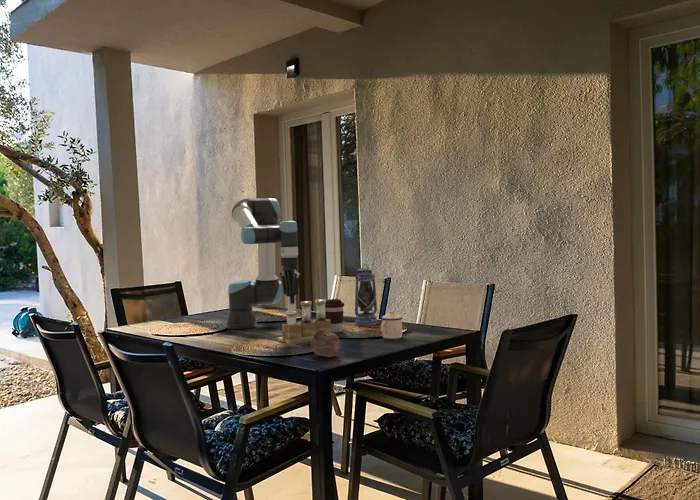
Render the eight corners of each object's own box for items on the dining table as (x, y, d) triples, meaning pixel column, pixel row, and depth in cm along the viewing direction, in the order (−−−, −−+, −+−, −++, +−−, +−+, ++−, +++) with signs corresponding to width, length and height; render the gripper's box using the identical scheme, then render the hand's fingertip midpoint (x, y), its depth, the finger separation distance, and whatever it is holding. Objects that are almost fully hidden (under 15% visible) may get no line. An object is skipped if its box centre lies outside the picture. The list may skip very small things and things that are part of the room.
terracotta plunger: (298, 324, 268) (298, 302, 267) (308, 323, 271) (307, 300, 270) (305, 326, 264) (304, 303, 263) (314, 324, 267) (313, 301, 266)
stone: (310, 356, 232) (309, 330, 232) (324, 352, 239) (323, 327, 238) (335, 360, 224) (334, 333, 224) (349, 355, 231) (348, 329, 231)
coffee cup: (342, 333, 279) (341, 301, 278) (321, 333, 281) (320, 301, 280) (347, 329, 289) (346, 298, 288) (326, 329, 291) (325, 298, 290)
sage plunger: (313, 322, 273) (312, 300, 272) (322, 321, 276) (321, 299, 275) (320, 323, 269) (319, 301, 268) (329, 322, 272) (328, 300, 271)
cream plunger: (283, 335, 263) (283, 311, 262) (293, 333, 266) (292, 310, 265) (290, 336, 259) (289, 312, 258) (299, 334, 262) (299, 311, 261)
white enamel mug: (390, 334, 273) (390, 308, 272) (406, 336, 266) (406, 310, 266) (373, 338, 264) (372, 312, 263) (389, 341, 258) (389, 313, 257)
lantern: (368, 320, 315) (366, 263, 314) (385, 322, 306) (384, 263, 305) (347, 324, 304) (345, 264, 303) (364, 326, 295) (362, 265, 294)
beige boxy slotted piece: (277, 340, 265) (277, 323, 265) (320, 333, 279) (319, 317, 279) (293, 344, 256) (292, 327, 255) (335, 337, 270) (335, 320, 270)
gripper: (273, 256, 264) (275, 310, 264) (290, 257, 253) (292, 313, 254) (288, 256, 268) (290, 308, 269) (305, 256, 258) (306, 311, 259)
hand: (291, 311), depth 262 cm, fingers closed
